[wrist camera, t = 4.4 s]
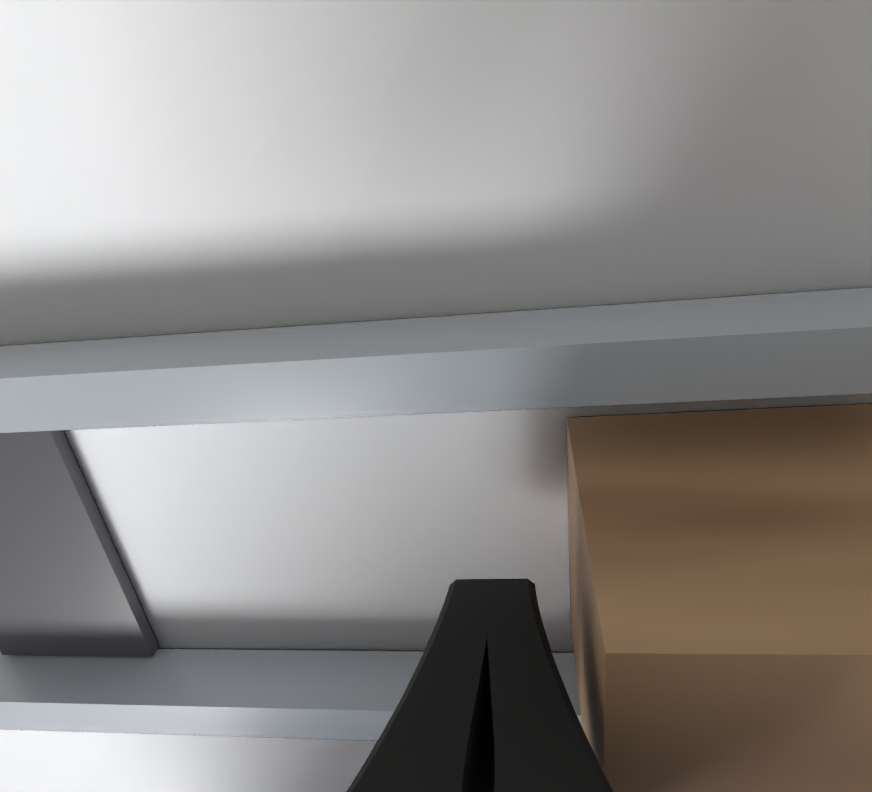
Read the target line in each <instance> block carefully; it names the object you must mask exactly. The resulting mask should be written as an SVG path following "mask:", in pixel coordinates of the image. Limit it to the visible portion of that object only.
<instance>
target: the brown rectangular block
mask: <svg viewBox="0 0 872 792" xmlns="http://www.w3.org/2000/svg"><path fill="white" fill-rule="evenodd" d="M567 464H568V516H569V567H570V619H571V630H572V639H573V648H574V657H575V666H576V675H577V684H578V693H579V702H580V711H581V720H582V728H583V730H584V733H585V735H586V737H587V739H588V741H589V743H590V745H591V747H592V749H593V752H594V754H595V756H596V758H597V760H598V762H599V764H600V766H601V768H602V770H603V772H604V774H605V776H606V778H607V780H608V782H609V784H610V786H611V788H612V790H613V792H872V404H854V405H833V406H811V407H790V408H768V409H746V410H725V411H703V412H681V413H660V414H638V415H616V416H595V417H573V418H567Z"/></svg>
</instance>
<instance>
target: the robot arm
mask: <svg viewBox="0 0 872 792" xmlns="http://www.w3.org/2000/svg"><path fill="white" fill-rule="evenodd" d="M347 792H613V790H612V788H611V786H610V784H609V782H608V780H607V778H606V776H605V774H604V772H603V770H602V768H601V766H600V764H599V762H598V760H597V758H596V756H595V754H594V752H593V749H592V747H591V745H590V743H589V741H588V739H587V737H586V735H585V733H584V730H583V728H582V726H581V724H580V721H579V719H578V717H577V715H576V712H575V710H574V708H573V705H572V703H571V700H570V698H569V695H568V693H567V690H566V688H565V686H564V683H563V681H562V678H561V676H560V673H559V671H558V668H557V665H556V663H555V660H554V657H553V654H552V652H551V648H550V645H549V642H548V639H547V636H546V633H545V630H544V626H543V623H542V619H541V615H540V611H539V607H538V602H537V597H536V590H535V584H534V583H532V582H531V581H530V580H529V579H462V580H455V581H454V582H453V583H452V584H450V586H449V590H448V593H447V596H446V599H445V602H444V605H443V608H442V610H441V613H440V616H439V618H438V621H437V623H436V626H435V628H434V630H433V633H432V635H431V637H430V639H429V642H428V644H427V646H426V649H425V651H424V653H423V655H422V657H421V659H420V661H419V663H418V665H417V667H416V669H415V672H414V674H413V676H412V678H411V680H410V682H409V684H408V686H407V688H406V690H405V692H404V694H403V696H402V698H401V700H400V702H399V703H398V705H397V707H396V709H395V711H394V713H393V714H392V716H391V718H390V720H389V721H388V723H387V725H386V727H385V729H384V730H383V732H382V734H381V736H380V737H379V739H378V741H377V743H376V744H375V746H374V748H373V750H372V752H371V753H370V755H369V757H368V758H367V760H366V762H365V763H364V765H363V767H362V768H361V770H360V771H359V773H358V775H357V776H356V778H355V780H354V781H353V783H352V784H351V786H350V787H349V789H348V791H347Z"/></svg>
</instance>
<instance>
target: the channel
mask: <svg viewBox="0 0 872 792" xmlns="http://www.w3.org/2000/svg"><path fill="white" fill-rule="evenodd" d="M850 394H872V287H868V288H853V289H838V290H824V291H809V292H794V293H779V294H764V295H750V296H735V297H720V298H705V299H690V300H676V301H661V302H646V303H631V304H616V305H602V306H587V307H572V308H557V309H542V310H528V311H513V312H498V313H483V314H468V315H454V316H439V317H424V318H409V319H394V320H380V321H365V322H350V323H335V324H320V325H306V326H291V327H276V328H261V329H246V330H231V331H217V332H202V333H187V334H172V335H157V336H143V337H128V338H113V339H98V340H83V341H69V342H54V343H39V344H24V345H9V346H0V729H5V730H38V731H71V732H104V733H137V734H170V735H203V736H236V737H269V738H302V739H335V740H368V741H378V739H379V737H380V736H381V734H382V732H383V730H384V729H385V727H386V725H387V723H388V721H389V720H390V718H391V716H392V714H393V713H394V711H395V709H396V707H397V705H398V703H399V702H400V700H401V698H402V696H403V694H404V692H405V690H406V688H407V686H408V684H409V682H410V680H411V678H412V676H413V674H414V672H415V669H416V667H417V665H418V663H419V661H420V659H421V657H422V655H423V653H424V651H329V650H223V649H157V648H158V647H159V645H158V643H157V641H156V638H155V636H154V634H153V632H152V630H151V627H150V625H149V623H148V621H147V618H146V616H145V614H144V612H143V609H142V607H141V605H140V603H139V600H138V598H137V596H136V594H135V591H134V589H133V587H132V585H131V582H130V580H129V578H128V576H127V573H126V571H125V569H124V567H123V564H122V562H121V560H120V558H119V555H118V553H117V551H116V549H115V546H114V544H113V542H112V540H111V537H110V535H109V533H108V531H107V528H106V526H105V524H104V522H103V519H102V517H101V515H100V513H99V511H98V508H97V506H96V504H95V502H94V499H93V497H92V495H91V493H90V490H89V488H88V486H87V484H86V481H85V479H84V477H83V475H82V472H81V470H80V468H79V466H78V463H77V461H76V459H75V457H74V454H73V452H72V450H71V448H70V445H69V443H68V441H67V439H66V436H65V434H64V432H63V430H78V429H100V428H122V427H144V426H166V425H188V424H210V423H232V422H254V421H276V420H298V419H320V418H342V417H364V416H386V415H409V414H431V413H453V412H475V411H497V410H519V409H541V408H563V407H585V406H607V405H629V404H651V403H673V402H695V401H717V400H739V399H761V398H783V397H805V396H827V395H850ZM552 654H553V657H554V660H555V663H556V665H557V668H558V671H559V673H560V676H561V678H562V681H563V683H564V686H565V688H566V690H567V693H568V695H569V698H570V700H571V703H572V705H573V708H574V710H575V712H576V715H577V717H578V719H579V721H580V724H581V726H582V720H581V711H580V702H579V693H578V684H577V675H576V666H575V657H574V653H552Z"/></svg>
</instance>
